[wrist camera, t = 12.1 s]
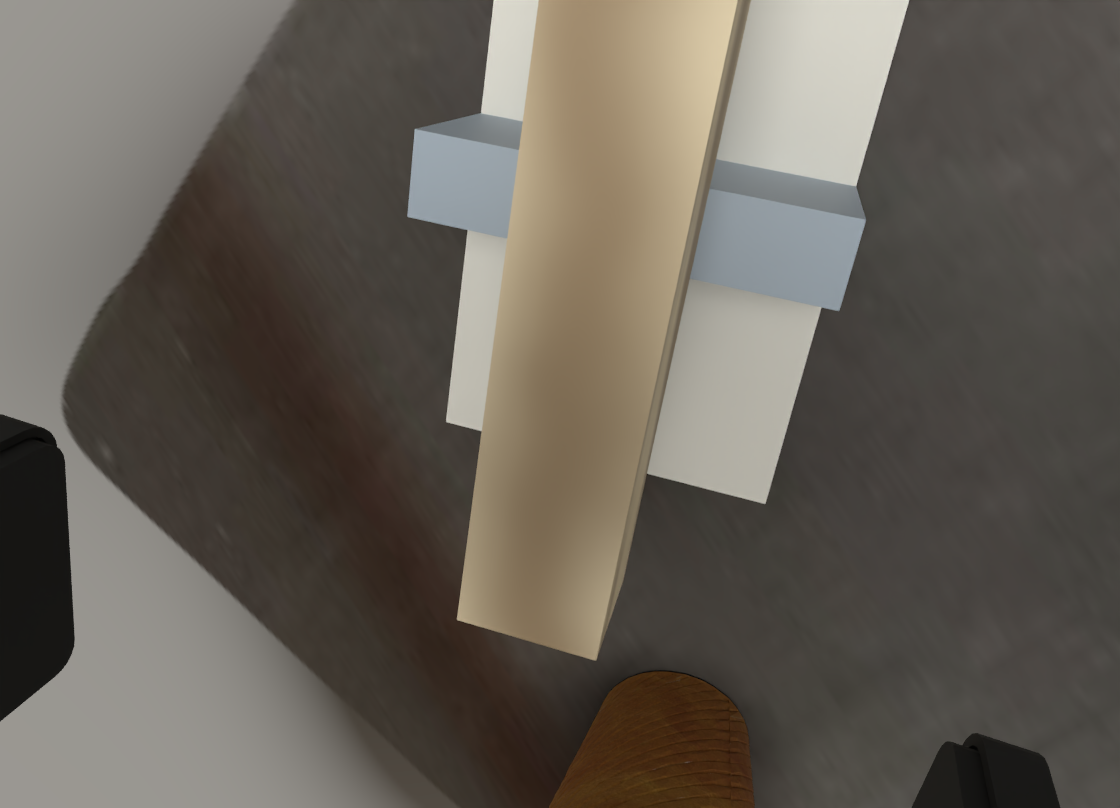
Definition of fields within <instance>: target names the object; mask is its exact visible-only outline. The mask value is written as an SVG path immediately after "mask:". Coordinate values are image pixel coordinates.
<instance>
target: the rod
mask: <svg viewBox="0 0 1120 808" xmlns="http://www.w3.org/2000/svg"><path fill="white" fill-rule="evenodd" d="M750 3H751V0H539V2H538V10H537V17H536V25H535V32H534V40H533V48H532V55H531V63H530V70H529V78H528V85H527V93H526V100H525V108H524V116H523V123H522V131H521V138H520V146H519V153H518V161H517V169H516V176H515V184H514V191H513V199H512V206H511V214H510V222H509V229H508V237H507V244H506V252H505V259H504V267H503V275H502V282H501V290H500V297H499V305H498V312H497V320H496V327H495V335H494V343H493V350H492V358H491V365H490V373H489V380H488V388H487V396H486V403H485V411H484V418H483V426H482V433H481V441H480V449H479V456H478V464H477V471H476V479H475V486H474V494H473V502H472V509H471V517H470V524H469V532H468V539H467V547H466V554H465V562H464V570H463V577H462V585H461V592H460V600H459V607H458V615H457V620H459V621H462V622H466V623H469V624H473V625H476V626H479V627H483V628H486V629H490V630H493V631H496V632H500V633H503V634H506V635H510V636H513V637H517V638H520V639H523V640H527V641H530V642H534V643H537V644H540V645H544V646H547V647H551V648H554V649H557V650H561V651H564V652H568V653H571V654H574V655H578V656H581V657H585V658H588V659H591V660H595V661H596V659H597V657H598V654H599V651H600V648H601V645H602V642H603V639H604V636H605V633H606V630H607V627H608V624H609V621H610V618H611V615H612V613H613V610H614V607H615V604H616V601H617V598H618V595H619V592H620V589H621V586H622V583H623V580H624V575H625V571H626V566H627V562H628V557H629V553H630V548H631V544H632V539H633V534H634V530H635V525H636V521H637V516H638V512H639V507H640V503H641V498H642V494H643V489H644V484H645V480H646V475H647V471H648V466H649V462H650V457H651V453H652V448H653V444H654V439H655V434H656V430H657V425H658V421H659V416H660V412H661V407H662V403H663V398H664V394H665V389H666V384H667V380H668V375H669V371H670V366H671V362H672V357H673V353H674V348H675V344H676V339H677V334H678V330H679V325H680V321H681V316H682V312H683V307H684V303H685V298H686V294H687V289H688V284H689V280H690V275H691V271H692V266H693V262H694V257H695V253H696V248H697V244H698V239H699V234H700V230H701V225H702V221H703V216H704V212H705V207H706V203H707V198H708V194H709V189H710V184H711V180H712V175H713V171H714V166H715V162H716V157H717V153H718V148H719V144H720V139H721V134H722V130H723V125H724V121H725V116H726V112H727V107H728V103H729V98H730V94H731V89H732V84H733V80H734V75H735V71H736V66H737V62H738V57H739V53H740V48H741V44H742V39H743V34H744V30H745V25H746V21H747V16H748V12H749V7H750Z"/></svg>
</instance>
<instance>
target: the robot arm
mask: <svg viewBox="0 0 1120 808" xmlns="http://www.w3.org/2000/svg"><path fill="white" fill-rule="evenodd" d="M73 648H74V621H73V602H72V585H71V566H70V547H69V529H68V511H67V493H66V475H65V460H64V455H63V453H62V452H61V450H60V449H59V448H57V444H56V440H55V438H54V437H53V435H52V434H51V433H50V432H49V431H48V430H46V429H44V428H42V427H38V426H36V425H33V424H29V423H26V422H23V421H20V420H17V419H14V418H11V417H8V416H5V415H0V721H1V720H3V719H4V718H5V717H6V716H7V715H9V714H10V713H11V712H12V711H13V710H15V709H16V708H17V707H18V706H20V705H21V704H22V703H23V702H24V701H26V700H27V699H28V698H29V697H31V696H32V695H33V694H34V693H35V692H37V691H38V690H39V689H40V688H42V687H43V686H44V685H45V684H46V683H48V682H49V681H50V680H51V679H53V678H54V677H55V676H56V675H57V674H58V673H59V672H60V671H61V670H62V669H63V668H64V666H65V665H66V664H67V662H68V660H69V658H70V656H71V654H72V650H73ZM912 808H1060V805H1059V801H1058V798H1057V795H1056V791H1055V788H1054V784H1053V781H1052V777H1051V774H1050V770H1049V767H1048V765H1047V762H1046V760H1045V758H1044V757H1043V756H1041V755H1040V754H1039V753H1036V752H1033V751H1030V750H1027V749H1024V748H1021V747H1018V746H1015V745H1011V744H1008V743H1005V742H1002V741H999V740H996V739H993V738H990V737H987V736H984V735H981V734H978V733H976V734H971V735H970V736H969V737H968V738H967V739H966V740H965V742H964V744H963V745H959V744H956V743H953V742H950V741H949V742H945V743H944V744H943V745H942V746H941V748H940V750H939V751H938V753H937V755H936V758H935V760H934V762H933V764H932V766H931V768H930V770H929V772H928V774H927V776H926V778H925V781H924V783H923V785H922V787H921V789H920V791H919V793H918V795H917V797H916V799H915V802H914V804H913V806H912Z"/></svg>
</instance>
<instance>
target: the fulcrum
mask: <svg viewBox="0 0 1120 808" xmlns="http://www.w3.org/2000/svg"><path fill="white" fill-rule="evenodd" d="M538 2H539V0H494V4H493V13H492V21H491V30H490V39H489V48H488V57H487V65H486V74H485V83H484V92H483V101H482V109H481V113H480V114H476V115H472V116H467V117H463V118H459V119H455V120H451V121H447V122H443V123H438V124H434V125H430V126H426V127H422V128H418V129H415V134H414V146H413V157H412V169H411V181H410V192H409V204H408V216H407V217H410V218H415V219H420V220H424V221H429V222H433V223H438V224H442V225H447V226H452V227H456V228H461V229H465V230H468V233H467V241H466V250H465V259H464V268H463V277H462V285H461V294H460V303H459V312H458V321H457V329H456V338H455V347H454V356H453V365H452V373H451V382H450V391H449V400H448V409H447V417H446V422H448V423H452V424H456V425H460V426H463V427H467V428H471V429H475V430H479V431H482V426H483V418H484V411H485V403H486V396H487V388H488V380H489V373H490V365H491V358H492V350H493V343H494V335H495V327H496V320H497V312H498V305H499V297H500V290H501V282H502V275H503V267H504V259H505V252H506V244H507V237H508V229H509V222H510V214H511V206H512V199H513V191H514V184H515V176H516V169H517V161H518V153H519V146H520V138H521V131H522V123H523V116H524V108H525V100H526V93H527V85H528V78H529V70H530V63H531V55H532V48H533V40H534V32H535V25H536V17H537V10H538ZM908 3H909V0H751V3H750V7H749V12H748V16H747V21H746V25H745V30H744V34H743V39H742V44H741V48H740V53H739V57H738V62H737V66H736V71H735V75H734V80H733V84H732V89H731V94H730V98H729V103H728V107H727V112H726V116H725V121H724V125H723V130H722V134H721V139H720V144H719V148H718V153H717V157H716V162H715V166H714V171H713V175H712V180H711V184H710V189H709V194H708V198H707V203H706V207H705V212H704V216H703V221H702V225H701V230H700V234H699V239H698V244H697V248H696V253H695V257H694V262H693V266H692V271H691V275H690V280H689V284H688V289H687V294H686V298H685V303H684V307H683V312H682V316H681V321H680V325H679V330H678V334H677V339H676V344H675V348H674V353H673V357H672V362H671V366H670V371H669V375H668V380H667V384H666V389H665V394H664V398H663V403H662V407H661V412H660V416H659V421H658V425H657V430H656V434H655V439H654V444H653V448H652V453H651V457H650V462H649V466H648V471H647V474H650V475H654V476H658V477H662V478H666V479H670V480H674V481H678V482H681V483H685V484H689V485H693V486H697V487H701V488H705V489H709V490H713V491H716V492H720V493H724V494H728V495H732V496H736V497H740V498H744V499H748V500H752V501H755V502H759V503H763V504H765V503H766V500H767V496H768V493H769V489H770V486H771V482H772V479H773V475H774V472H775V468H776V465H777V461H778V458H779V454H780V451H781V447H782V444H783V440H784V437H785V433H786V430H787V426H788V423H789V419H790V416H791V412H792V409H793V405H794V402H795V398H796V395H797V391H798V388H799V384H800V381H801V377H802V374H803V370H804V367H805V363H806V360H807V356H808V353H809V349H810V346H811V342H812V339H813V335H814V332H815V328H816V325H817V321H818V318H819V314H820V311H821V307H822V308H827V309H831V310H836V311H839V310H840V307H841V303H842V300H843V297H844V293H845V290H846V286H847V283H848V280H849V276H850V273H851V270H852V266H853V263H854V259H855V256H856V253H857V249H858V246H859V242H860V239H861V236H862V232H863V229H864V225H865V222H866V218H865V215H864V211H863V208H862V205H861V201H860V198H859V195H858V191H857V188H856V185H857V181H858V178H859V174H860V171H861V167H862V164H863V160H864V157H865V153H866V150H867V146H868V143H869V139H870V136H871V132H872V129H873V125H874V122H875V118H876V115H877V111H878V108H879V104H880V101H881V97H882V94H883V90H884V87H885V83H886V80H887V76H888V73H889V69H890V66H891V62H892V59H893V55H894V52H895V48H896V45H897V41H898V38H899V34H900V31H901V27H902V24H903V20H904V17H905V13H906V10H907V6H908Z"/></svg>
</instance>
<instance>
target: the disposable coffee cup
mask: <svg viewBox="0 0 1120 808" xmlns="http://www.w3.org/2000/svg"><path fill="white" fill-rule="evenodd" d="M753 793H754V792H753V784H752V772H751V762H750V750H749V737H748V731H747V726H746V724H745V721H744V719H743V717H742V716H741V714H740V712H739V711H738V709H737V708H736V706H735V705H734V704H733V703H732V702H731V700H730V699H729V698H728V697H726V696H725V695H724V694H722V693H721V692H720V691H718V690H717V689H716V688H715V687H713V686H711V685H710V684H708V683H706V682H704V681H702V680H700V679H697V678H694V677H691V676H689V675H686V674H680V673H673V672H663V671H655V672H648V673H641V674H638V675H636V676H633V677H630V678H628V679H626V680H624V681H623V682H621V683H619V684H618V685H616V686H615V687H614V688H613V689H612V690H611V691H610V692H609V693H608V695H607V697H606V698H605V700H604V702H603V703H602V706H601V708H600V710H599V712H598V714H597V716H596V717H595V719H594V721H593V723H592V725H591V727H590V729H589V731H588V733H587V735H586V737H585V739H584V741H583V743H582V744H581V747H580V748H579V750H578V752H577V754H576V756H575V758H574V760H573V762H572V763H571V765H570V766H569V768H568V771H567V773H566V776H565V778H564V779H563V781H562V783H561V785H560V787H559V789H558V791H557V792H556V794H555V796H554V798H553V800H552V802H551V804H550V806H549V808H754V805H755V804H754V796H753Z"/></svg>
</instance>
